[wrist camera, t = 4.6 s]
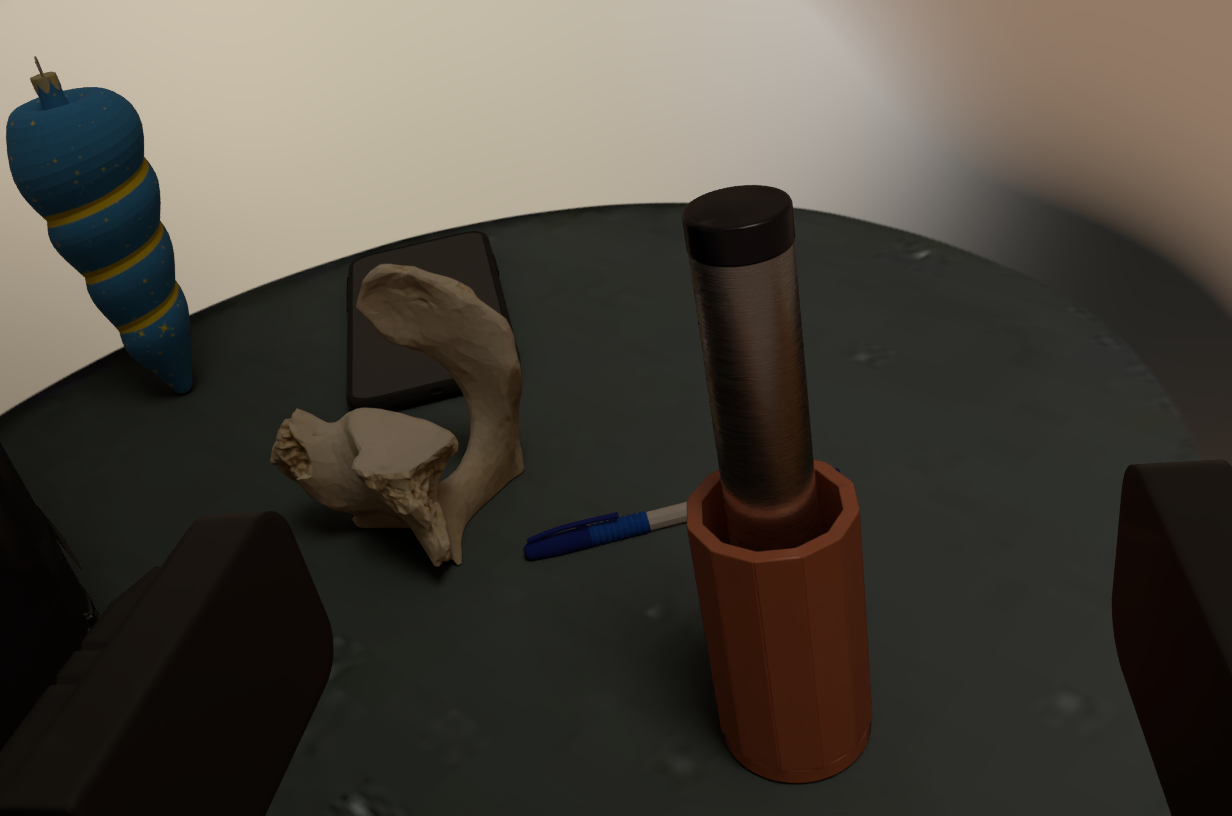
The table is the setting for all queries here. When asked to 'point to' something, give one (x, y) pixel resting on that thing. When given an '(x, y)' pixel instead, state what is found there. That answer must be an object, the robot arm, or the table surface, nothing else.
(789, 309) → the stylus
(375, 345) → the smartphone
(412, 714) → the table surface
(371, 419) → the bone
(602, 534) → the ballpoint pen
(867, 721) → the pen cup
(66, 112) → the ornament
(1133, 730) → the table surface
